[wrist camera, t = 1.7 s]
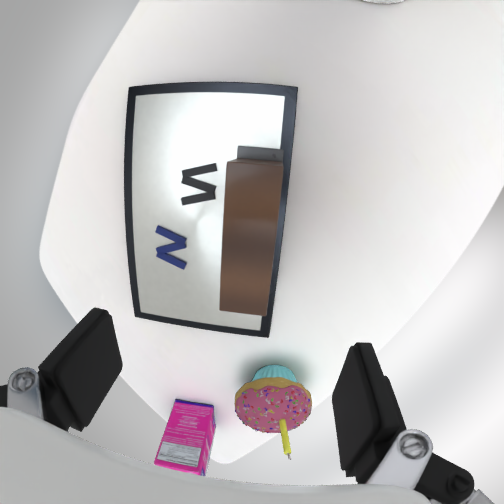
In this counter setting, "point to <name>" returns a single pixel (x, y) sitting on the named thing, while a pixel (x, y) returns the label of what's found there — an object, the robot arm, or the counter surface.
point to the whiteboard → (195, 192)
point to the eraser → (250, 229)
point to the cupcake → (273, 402)
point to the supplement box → (187, 438)
